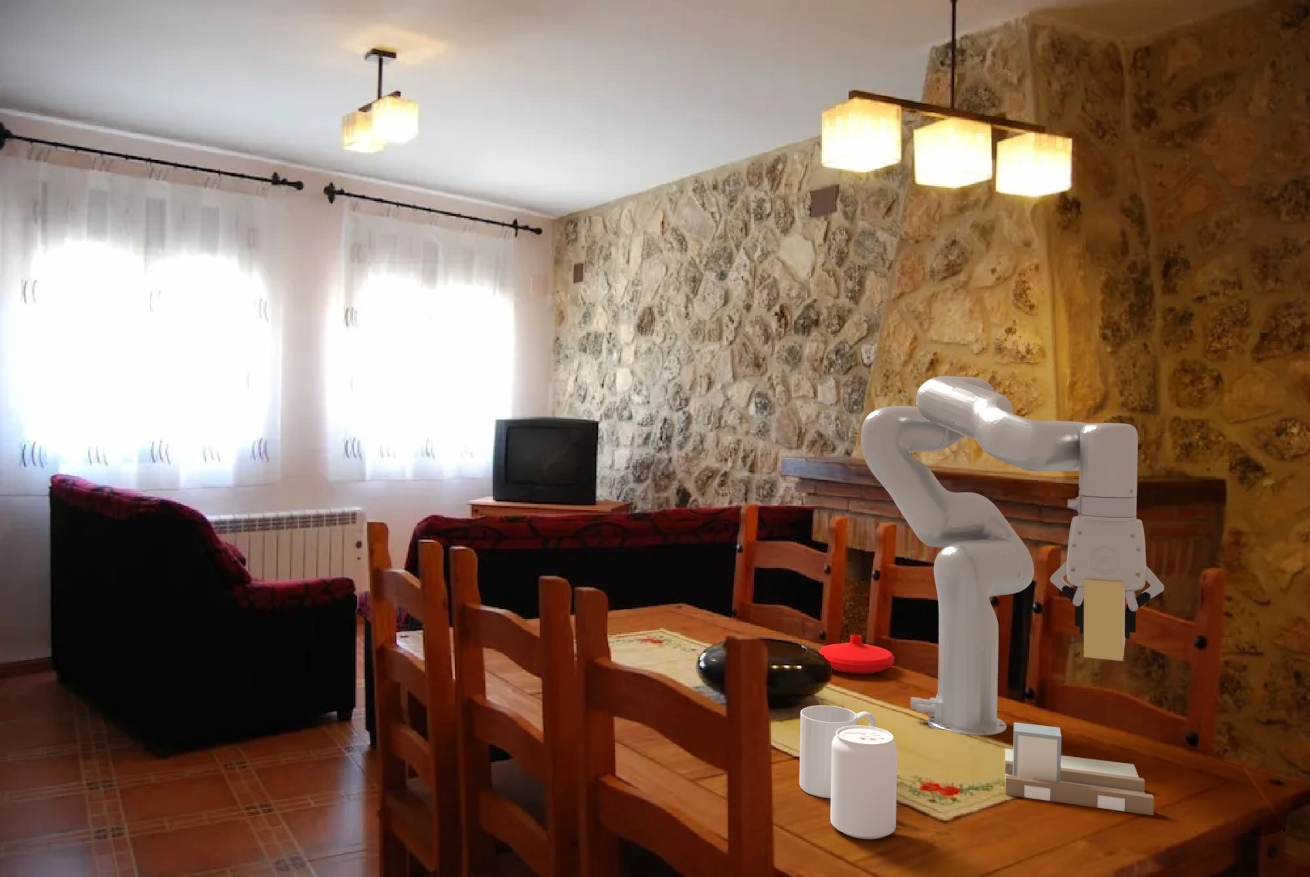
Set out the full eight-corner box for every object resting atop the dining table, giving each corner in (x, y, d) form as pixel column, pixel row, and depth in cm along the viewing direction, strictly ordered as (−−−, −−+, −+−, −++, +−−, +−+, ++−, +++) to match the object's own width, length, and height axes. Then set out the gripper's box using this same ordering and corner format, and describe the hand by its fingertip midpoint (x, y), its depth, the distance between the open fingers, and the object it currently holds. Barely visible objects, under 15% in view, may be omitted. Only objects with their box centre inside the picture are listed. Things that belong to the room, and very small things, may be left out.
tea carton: (1124, 661, 131) (1125, 582, 131) (1083, 657, 134) (1084, 579, 133) (1125, 650, 137) (1126, 575, 137) (1086, 646, 140) (1086, 573, 140)
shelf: (1005, 801, 128) (1005, 778, 128) (1004, 754, 146) (1005, 734, 146) (1153, 823, 122) (1154, 798, 122) (1133, 771, 140) (1134, 749, 140)
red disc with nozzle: (903, 680, 188) (903, 645, 188) (823, 679, 188) (824, 644, 188) (884, 660, 203) (884, 628, 203) (811, 659, 204) (811, 627, 203)
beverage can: (823, 815, 123) (824, 724, 123) (883, 814, 124) (885, 723, 123) (840, 843, 115) (842, 746, 115) (905, 842, 116) (906, 745, 115)
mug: (822, 803, 127) (823, 726, 127) (788, 782, 134) (789, 709, 134) (891, 788, 132) (893, 714, 132) (855, 769, 139) (856, 698, 139)
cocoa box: (1013, 788, 130) (1014, 731, 130) (1012, 778, 134) (1013, 722, 134) (1060, 795, 128) (1061, 737, 128) (1058, 784, 132) (1059, 727, 132)
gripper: (1040, 507, 136) (1038, 633, 136) (1175, 514, 128) (1172, 647, 128) (1045, 504, 142) (1043, 623, 143) (1174, 510, 134) (1171, 636, 135)
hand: (1104, 633), depth 135 cm, fingers closed on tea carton, 5 cm apart
